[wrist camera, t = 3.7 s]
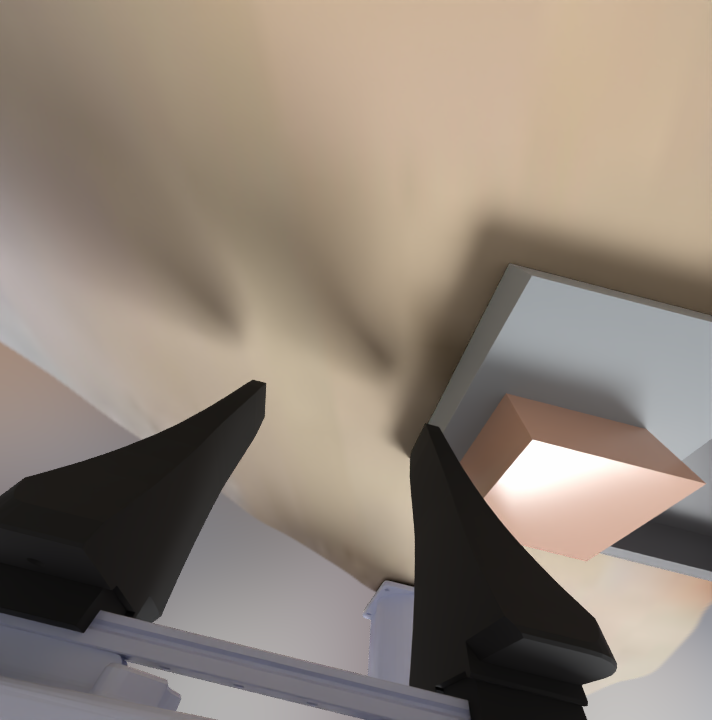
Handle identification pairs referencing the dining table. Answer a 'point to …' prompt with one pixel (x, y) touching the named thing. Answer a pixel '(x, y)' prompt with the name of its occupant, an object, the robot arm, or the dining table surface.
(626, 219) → the dining table surface
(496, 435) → the block
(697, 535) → the box
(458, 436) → the slate plate
